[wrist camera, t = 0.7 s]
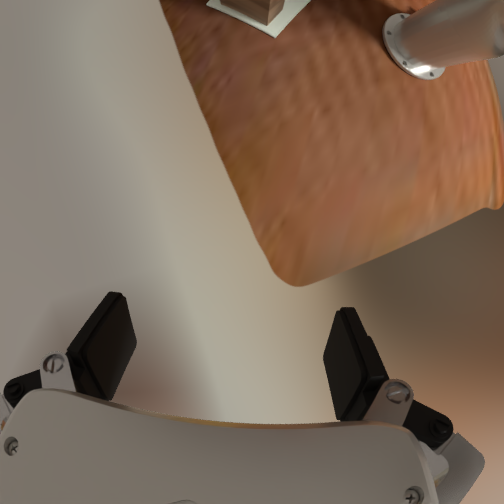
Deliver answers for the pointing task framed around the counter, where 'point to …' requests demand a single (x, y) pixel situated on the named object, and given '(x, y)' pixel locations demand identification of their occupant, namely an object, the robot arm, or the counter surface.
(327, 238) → the counter surface
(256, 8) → the slab
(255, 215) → the counter surface
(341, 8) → the counter surface
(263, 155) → the counter surface
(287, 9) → the mat
